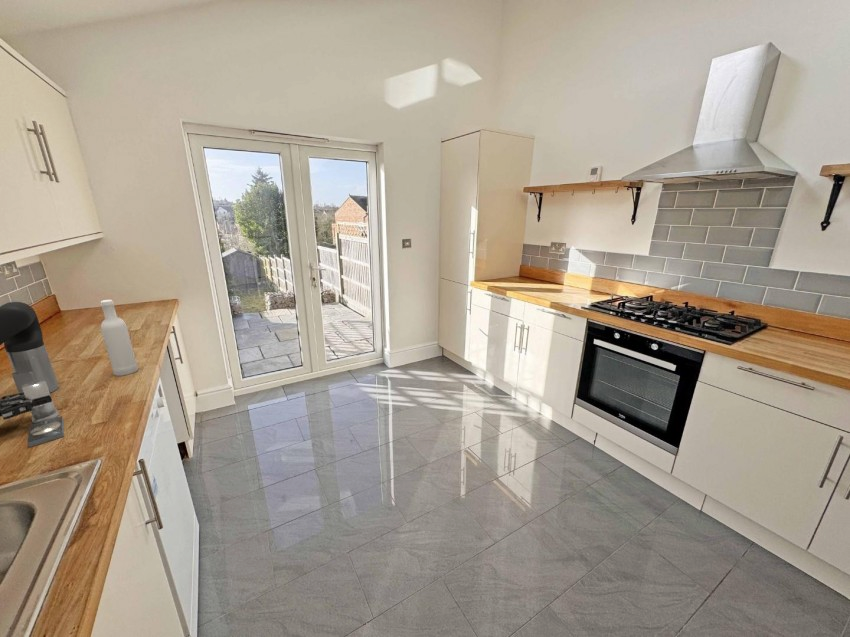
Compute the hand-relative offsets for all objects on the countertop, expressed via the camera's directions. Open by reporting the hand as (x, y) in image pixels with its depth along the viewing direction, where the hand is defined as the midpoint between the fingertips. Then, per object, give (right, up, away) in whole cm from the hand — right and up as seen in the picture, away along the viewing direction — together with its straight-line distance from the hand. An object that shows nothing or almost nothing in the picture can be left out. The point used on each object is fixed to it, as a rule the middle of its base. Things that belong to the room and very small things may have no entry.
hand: (50, 395), depth 115 cm
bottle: (-2, +2, +32) cm, 33 cm away
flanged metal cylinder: (-2, -7, 0) cm, 7 cm away
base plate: (+7, -10, -8) cm, 14 cm away
